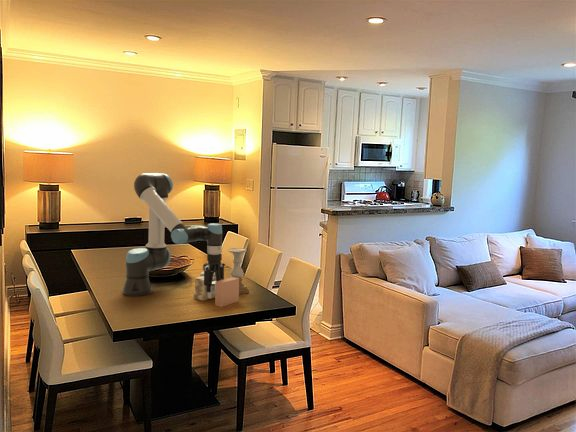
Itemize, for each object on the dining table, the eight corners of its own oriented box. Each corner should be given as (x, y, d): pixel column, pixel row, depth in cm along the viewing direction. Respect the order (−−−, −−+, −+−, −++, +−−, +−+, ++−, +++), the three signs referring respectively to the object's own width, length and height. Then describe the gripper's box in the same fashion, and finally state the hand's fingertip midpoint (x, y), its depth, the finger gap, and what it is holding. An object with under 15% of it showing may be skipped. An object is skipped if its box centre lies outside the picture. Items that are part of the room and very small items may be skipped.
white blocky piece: (193, 297, 261) (193, 278, 260) (207, 294, 269) (207, 275, 268) (202, 300, 257) (203, 280, 256) (216, 296, 265) (216, 277, 264)
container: (212, 287, 284) (212, 265, 282) (199, 286, 285) (200, 264, 284) (217, 284, 291) (217, 262, 290) (204, 283, 293) (205, 261, 291)
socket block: (215, 305, 250) (215, 281, 248) (232, 299, 260) (233, 276, 259) (221, 306, 247) (221, 282, 246) (238, 301, 258) (239, 278, 256)
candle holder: (230, 295, 269) (231, 252, 267) (223, 290, 279) (224, 248, 276) (249, 293, 274) (250, 250, 272) (241, 288, 284) (242, 247, 281)
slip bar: (198, 289, 262) (198, 280, 262) (205, 287, 266) (205, 278, 266) (218, 294, 253) (219, 285, 253) (225, 292, 258) (225, 283, 257)
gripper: (207, 256, 247) (206, 301, 250) (231, 252, 262) (230, 294, 264) (196, 254, 252) (196, 299, 254) (221, 250, 266) (220, 292, 269)
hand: (213, 296), depth 259 cm, fingers closed on slip bar, 5 cm apart
